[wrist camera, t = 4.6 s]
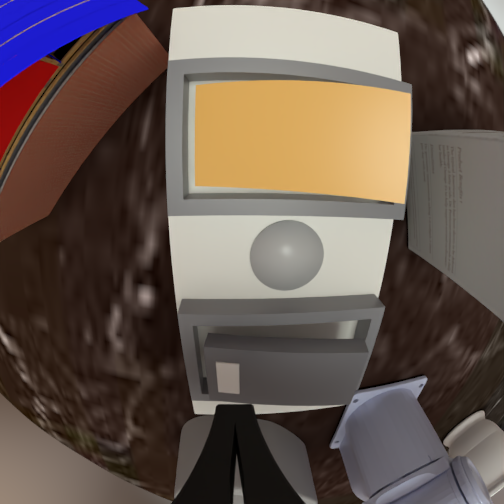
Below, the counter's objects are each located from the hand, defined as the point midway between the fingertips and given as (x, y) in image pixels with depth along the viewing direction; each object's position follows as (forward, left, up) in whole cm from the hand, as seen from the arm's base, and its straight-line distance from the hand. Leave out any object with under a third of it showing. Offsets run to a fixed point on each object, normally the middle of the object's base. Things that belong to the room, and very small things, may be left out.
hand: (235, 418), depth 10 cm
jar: (-26, -35, -8) cm, 45 cm away
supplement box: (+9, -13, -8) cm, 18 cm away
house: (+17, +14, -8) cm, 24 cm away
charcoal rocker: (0, -2, -3) cm, 4 cm away
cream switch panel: (+5, -2, -8) cm, 9 cm away
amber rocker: (+10, -2, -3) cm, 11 cm away
